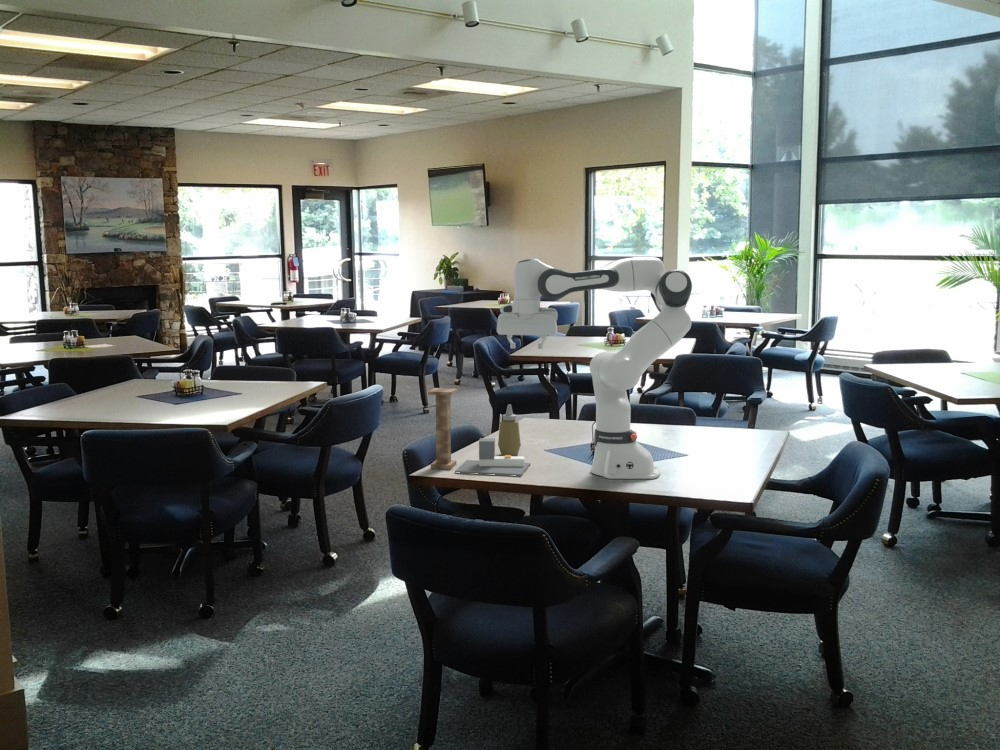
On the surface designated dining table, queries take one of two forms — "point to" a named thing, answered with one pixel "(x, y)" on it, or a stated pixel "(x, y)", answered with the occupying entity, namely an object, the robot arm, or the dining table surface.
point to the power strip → (490, 459)
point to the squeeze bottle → (509, 434)
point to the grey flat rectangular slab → (491, 469)
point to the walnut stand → (443, 428)
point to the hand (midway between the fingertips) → (526, 348)
